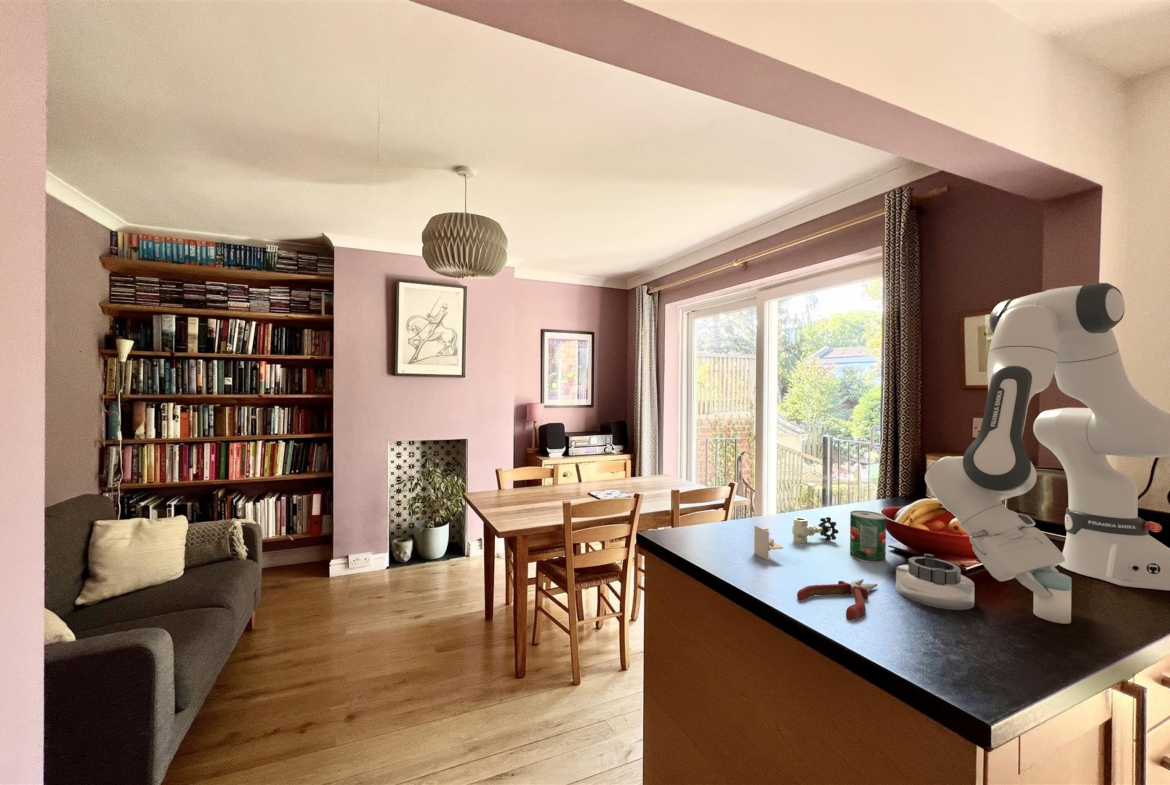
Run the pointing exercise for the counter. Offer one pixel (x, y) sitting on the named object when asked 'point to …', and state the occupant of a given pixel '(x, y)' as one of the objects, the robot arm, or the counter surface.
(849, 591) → the pliers
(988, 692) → the counter surface
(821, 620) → the counter surface
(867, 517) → the canned tomato
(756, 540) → the architectural model
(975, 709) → the counter surface
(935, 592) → the ringed white base
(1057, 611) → the jar with teal lid
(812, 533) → the valve
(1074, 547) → the robot arm
